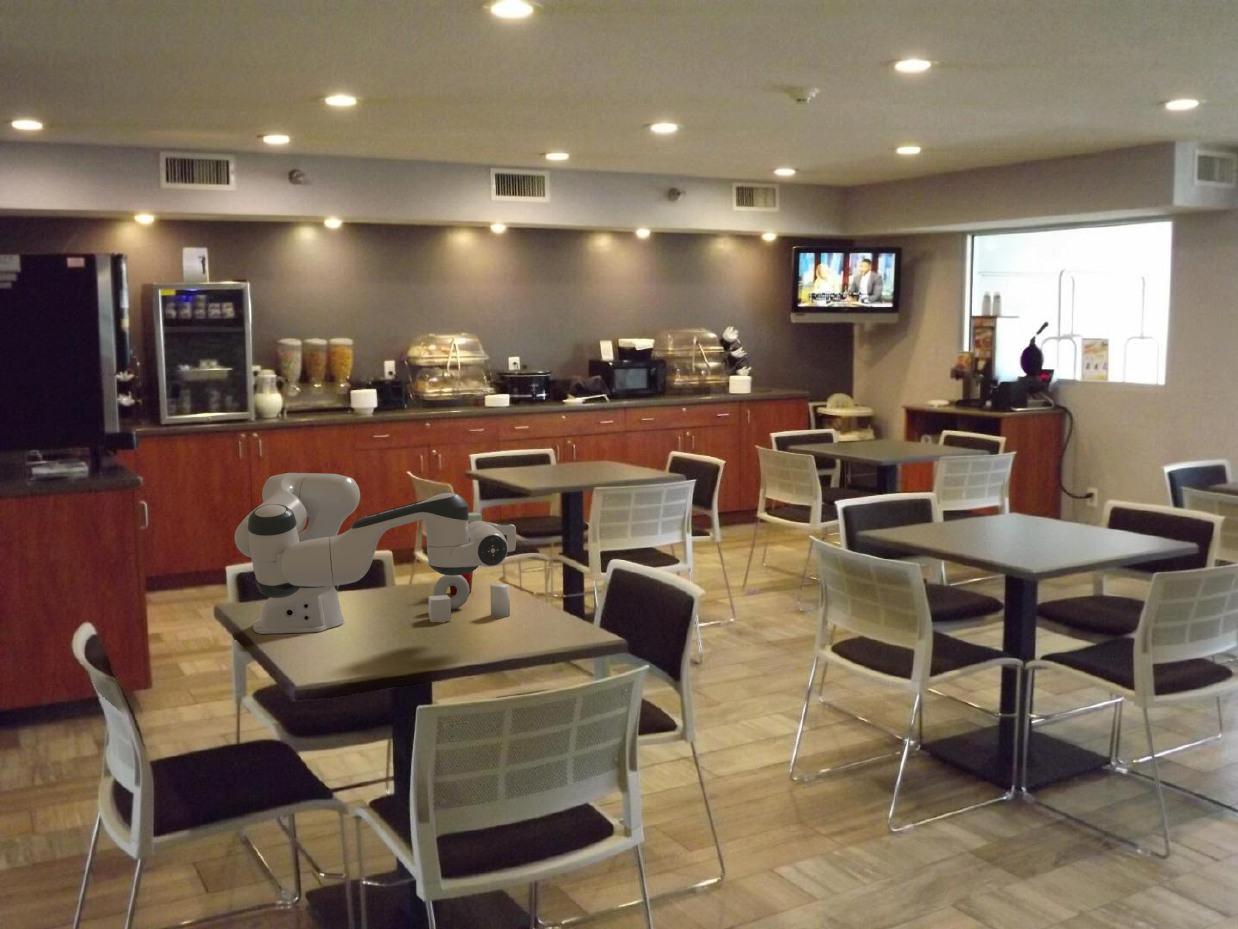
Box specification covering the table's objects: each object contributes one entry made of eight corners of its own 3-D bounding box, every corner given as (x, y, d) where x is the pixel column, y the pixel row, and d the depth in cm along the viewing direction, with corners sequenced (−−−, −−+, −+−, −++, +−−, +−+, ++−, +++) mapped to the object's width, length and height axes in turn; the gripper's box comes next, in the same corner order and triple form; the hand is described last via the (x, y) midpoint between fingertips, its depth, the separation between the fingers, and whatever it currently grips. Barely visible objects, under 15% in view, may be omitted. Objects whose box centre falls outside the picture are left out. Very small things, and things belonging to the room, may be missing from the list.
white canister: (492, 618, 306) (492, 588, 305) (489, 614, 311) (488, 584, 310) (511, 616, 307) (511, 586, 306) (507, 612, 312) (507, 583, 311)
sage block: (462, 556, 288) (461, 516, 287) (459, 553, 292) (458, 513, 291) (482, 555, 289) (481, 515, 288) (478, 551, 294) (478, 512, 293)
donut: (467, 606, 320) (466, 570, 319) (471, 608, 317) (471, 572, 316) (432, 610, 315) (431, 574, 314) (436, 613, 312) (435, 576, 311)
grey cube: (431, 623, 301) (431, 600, 301) (428, 619, 306) (428, 596, 305) (451, 621, 303) (450, 598, 302) (447, 617, 307) (447, 595, 307)
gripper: (436, 555, 275) (428, 546, 288) (521, 550, 281) (509, 541, 294) (435, 529, 275) (427, 521, 288) (521, 524, 281) (509, 516, 294)
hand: (469, 531), depth 291 cm, fingers closed on sage block, 5 cm apart
